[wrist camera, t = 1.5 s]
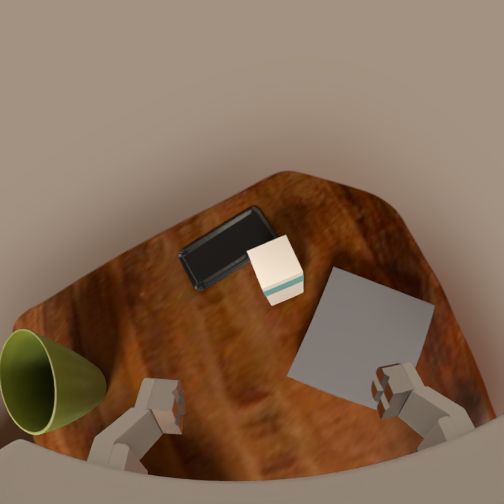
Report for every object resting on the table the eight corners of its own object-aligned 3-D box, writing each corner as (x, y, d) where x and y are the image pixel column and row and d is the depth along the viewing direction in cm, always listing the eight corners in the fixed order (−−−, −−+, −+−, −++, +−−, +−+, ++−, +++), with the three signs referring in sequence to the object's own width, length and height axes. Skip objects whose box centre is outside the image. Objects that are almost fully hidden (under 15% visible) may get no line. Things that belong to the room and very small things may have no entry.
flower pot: (112, 441, 38) (46, 455, 23) (56, 398, 42) (-8, 395, 27) (135, 367, 42) (67, 360, 28) (76, 331, 46) (11, 312, 32)
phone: (176, 252, 48) (254, 204, 48) (179, 255, 49) (255, 207, 49) (196, 293, 44) (281, 241, 45) (199, 294, 46) (281, 243, 46)
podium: (421, 312, 38) (434, 305, 33) (385, 410, 34) (395, 415, 29) (330, 277, 43) (333, 266, 38) (288, 374, 39) (286, 376, 34)
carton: (304, 292, 42) (303, 271, 33) (271, 306, 43) (261, 289, 33) (290, 262, 45) (286, 234, 35) (258, 275, 45) (246, 250, 35)
